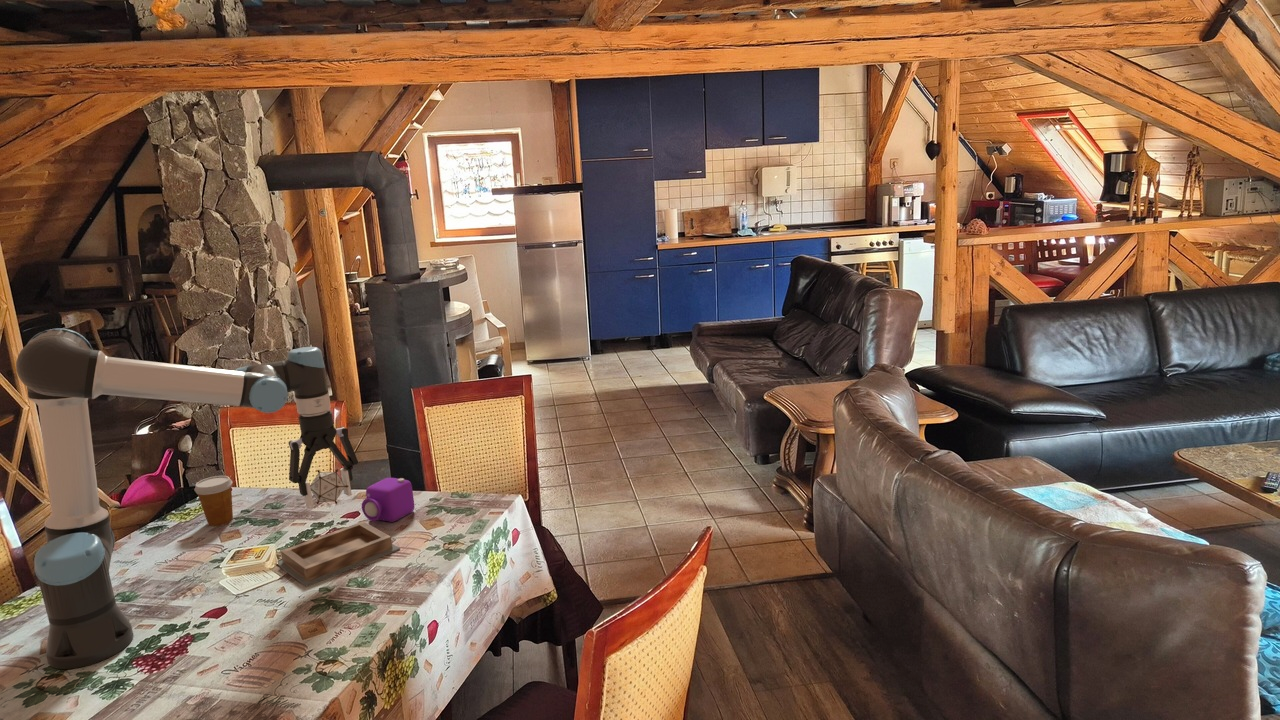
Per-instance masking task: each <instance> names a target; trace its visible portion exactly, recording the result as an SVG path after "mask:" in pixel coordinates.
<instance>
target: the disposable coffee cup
mask: <svg viewBox="0 0 1280 720" xmlns="http://www.w3.org/2000/svg"><path fill="white" fill-rule="evenodd" d="M232 484H233V480H232V479H231V478H230V477H229V476H228V475H215V476H210V477H207V478H203V479H201V480H199V481H198V482H196V483H195V488H194V492H195V493H196V494H197V496H198V500H199V502H200V504H201V505H200V506H201V508H202V511H203V513H204V516H205V518H206V523H207V525H208V526H211V527H218V526H219V527H220V526H223V525H226V524H227V525H228V524H229V523H230V522H232V521H233V520H234V515H233V512H234V511H233V496H232V495H233V494H232V493H233V491H232V487H233V485H232Z"/></svg>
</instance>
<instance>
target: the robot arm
mask: <svg viewBox="0 0 1280 720" xmlns="http://www.w3.org/2000/svg"><path fill="white" fill-rule="evenodd" d="M15 370H16V374H17V377H18V378H19V380H20V381H21V383H22V384H23V385H24V386H25V387H26V392H27V399H28V400H30V401H31V402H33V403H35V404H36V406H38V413H39V422H40V429H41V439H42V447H43V454H44V460H45V469H46V471H45V472H46V478H47V485H48V486H47V487H48V493H49V494H48V495H49V501H50V509H51V514H50V516H48V517H47V518H46V519H45V521H44V533H45V534H44V535H45V541H46V544H43V545H42V546H41V547H39V549H37V551H36V553H35V555H34V559H33V560H34V562H33V563H34V568H33V569H34V574H35V575H36V577H37V581H38V584H39V588H40V592H41V595H42V600H43V603H44V607H45V611H46V616H47V619H48V623H49V627H48V635H47V640H46V641H47V643H46V648H45V655H46V659H47V663H48V665H49V666H50V667H52V668H54V669H58V670H59V669H60V670H69V669H70V670H71V669H78V668H83V667H87V666H90V665H93V664H96V663H99V662H101V661H104V660H107V659H108V658H110V657H112V656H115V655H117V654H118V653H120V652H121V651H122V650H124V649H125V648H126V647H127V646H128V645H130V644H131V643H132V641H133V640H134V636H135V635H134V631H133V627H132V626H133V625H132V624H131V622H130V621H129V620H128V618H127V617H126V616H125V613H124V612H123V611H122V610H121V609H120V607H119V606H118V605H117V601H116V598H115V597H116V596H115V592H114V589H113V585H112V580H111V576H110V575H111V574H110V566H111V561H112V560H111V559H112V555H113V552H114V549H115V544H116V542H115V540H116V539H115V534H114V533H113V529H112V528H111V521H110V513H109V511H108V510H107V509H106V508H104V507H102V506H101V505H100V497H99V490H98V480H97V473H96V464H95V454H94V446H93V438H92V437H93V436H92V428H91V422H90V421H91V420H90V410H89V403H88V401H89V399H92V400H94V399H97V398H98V397H99V396H102V395H106V396H118V397H127V398H128V397H130V398H139V399H152V400H164V401H175V402H187V403H196V404H197V403H198V404H209V405H210V404H211V405H217V406H218V405H220V406H231V407H232V406H233V407H242V408H252V409H255V410H257V411H259V412H261V413H265V414H272V413H276V412H278V411H280V410H281V409H283V408H284V406H285V405H286V403H287V402H288V398H289V394H288V393H290V392H294V398H295V403H296V404H295V405H296V411H297V414H299V415H298V423H299V428H300V437H299V438H298V439H295V440H292V439H291V440H289V441H288V446H289V448H290V456H289V458H290V459H289V472H288V473H289V474H288V480H289V481H290V482H291V483H293V484H298V489H299V490H298V491H299V494H300V495H301V496H303V497H304V502H305V506H306V507H307V508H309V509H311V510H312V509H315V507H314V500H313V493H312V491H311V488H310V485H311V483H310V481H308V480H307V479H308V475H309V473H310V469H311V466H312V463H313V459H314V456H315V455H316V453H317V452H320V451H322V450H326V449H329V451H330V452H331V453H332V454H333V456H334V457H335V458H336V459H337V461H338V462H339V463H340V465H341V466H342V468H340V469H339V471H340V476H341V477H340V479H341V480H342V482H343V483H344V485H345V486H346V485H348V487H345V488H344V489H343V494H344V495H346V496H348V497H351V496H352V488H351V482H352V481H353V479H354V478H353V472H352V470H353V469H354V466H355V465H358V464H359V460H358V457H357V455H356V453H355V451H354V448H353V446H352V444H351V440H350V437H349V429H348V428H346V427H344V426H340V427H338V428H335V423H334V416H333V412H332V410H331V408H332V405H331V398H330V392H329V386H328V380H327V379H328V378H327V373H326V365H325V361H324V357H323V351H322V350H321V349H320V348H319V347H316V346H303V347H299V348H294V349H291V350H289V351H288V353H287V359H284V360H279V361H273V362H265V363H259V364H252V365H251V364H249V365H246V366H241V367H237V368H236V369H234V370H232V369H231V370H230V369H223V368H214V367H206V366H205V367H204V366H203V367H202V366H197V365H196V366H194V365H186V364H178V363H177V364H176V363H167V362H160V361H159V362H158V361H150V360H141V359H132V358H131V359H130V358H124V357H123V358H122V357H113V356H107V355H106V354H105V353H104V352H103V351H102V350H96V349H93V347H92V345H91V343H90V342H89V341H88V339H86V338H85V336H83V335H82V334H80V333H79V332H77V331H75V330H72V329H69V328H67V329H66V328H61V327H60V328H58V327H57V328H52V329H51V328H50V329H45V330H43V331H40V332H38V333H37V334H35V335H34V336H33V337H31V338H30V339H29V341H28V342H27V343H26V345H25V346H23V347H22V349H21V350H20V351H19V353H18V355H17V358H16V362H15ZM336 435H337V437H339V440H340V443H341V445H342V448H343V449H344V452H345V455H346V457H347V458H346V457H345V456H344V454H343V452H342V451H341V450H340V448H338V446H337V444H336V442H334V440H335V439H336V438H335V437H336ZM302 444H303V445H304V447H305V448H304V451H303V458H302V461H301V464H300V460H301V459H300V457H301V451H300V449H301V448H302Z"/></svg>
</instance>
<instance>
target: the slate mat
mask: <svg viewBox="0 0 1280 720" xmlns="http://www.w3.org/2000/svg"><path fill="white" fill-rule="evenodd" d="M392 547H393V548H392V549H389V550H387V551H384V552H382V553H379V554H377V555H374V556H371V557H369V558H366V559H364V560H361V561H359V562H356V563H354V564H351V565H348V566H346V567H343V568H341V569H338V570H336V571H333V572H331V573H328V574H325V575H323V576H320V577H318V578H315V579H313V580H310V581H307V580H306V579H304V578H303V577H302V576H300V575H299V574H298V573H296V572H295V571H294V570H292V569H291V568H290V567H288V566H287V565H286V564H284V563H283V560H282V559H280V560H278V561H277V562H278V565H279V566H278V565H277V566H278V567H279V568H280V569H282V570H283V571H284V572H286V573H287V575H288V574H289V575H290V576H291V577H292V578H294V579H295V580H296V581H298V583H300V584H302V586H303V587H309V586H312V585H314V584H317V583H320V582H322V581H324V580H325V581H326V580H327V579H329V578H332V577H335V576H337V575H340V574H342V573H345V572H347V571H349V570H352V569H354V568H357V567H360V566H363V565H365V564H368V563H370V562H372V561H375V560H377V559H380V558H382V557H385V556H388V555H390V554H392V553H395V552H397V551H400V550H401V548H400V547H398V546H397V545H395V544H393V543H392Z"/></svg>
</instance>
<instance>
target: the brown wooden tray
mask: <svg viewBox="0 0 1280 720" xmlns="http://www.w3.org/2000/svg"><path fill="white" fill-rule="evenodd" d="M392 542H393V541H392V536H390V535H389V534H387V533H385V532H383V531H382V530H379V529H378V528H376V527H375V526H373V525H371V524H369V523H367V522H365V521H360V522H357V523H354V524H352V525H349V526H346V527H344V528H340V529H337V530H335V531H332V532H329V533H327V534H324V535H321V536H317V537H315V538H313V539H310V540H307V541H304V542H302V543H299V544H297V545H293V546H290V547H286V548H285V549H282V550H280V553H281V554H280V555H281V560H283V563H284V564H286V565H287V566H288V567H290V568H291V569H292V570H294V571H295V572H296V573H298V574H299V575H300V576H302V577H303V578H304V579H306V580H307V581H310V580H313V579H315V578H318V577H320V576H323V575H325V574H328V573H331V572H333V571H336V570H338V569H341V568H343V567H346V566H348V565H351V564H354V563H356V562H359V561H361V560H364V559H366V558H369V557H371V556H374V555H377V554H379V553H382V552H384V551H387V550H389V549H392V548H393V547H392V544H393V543H392Z"/></svg>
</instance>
